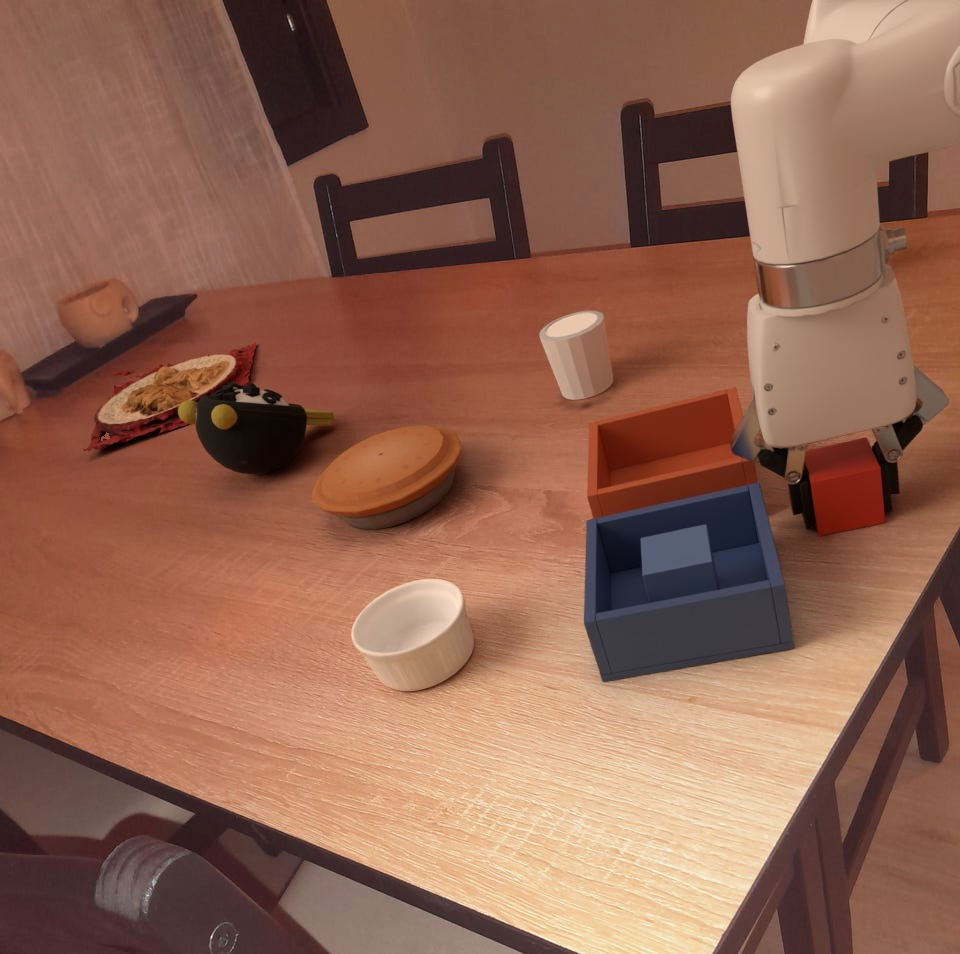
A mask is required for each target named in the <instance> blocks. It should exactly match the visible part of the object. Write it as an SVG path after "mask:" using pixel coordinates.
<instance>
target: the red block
mask: <svg viewBox="0 0 960 954" xmlns="http://www.w3.org/2000/svg"><path fill="white" fill-rule="evenodd" d="M804 465H805V468H806V472H807V475H808V478H809V481H810V485H811V492H812V499H813V507H814V514H815V522H816V526H815V529H816V532H817V535H818V536H819V537H821V536H826V535H831V534H836V533H841V532H846V531H851V530H856V529H860V528H865V527H870V526H876V525H880V524H881V525H882V524H885V523H886V513H884V502H883V490H882V478H881V468H880V465H879V463H878V461H877V459H876V457H875V454H874V452H873V450H872V445H871V443H870V441H869V439H868V437H867V436H866V437H860V438H857V439H851V440H847V441H844V442H838V443H833V444H829V445H825V446H820V447H817V448H811V449H806V455H805V461H804Z"/></svg>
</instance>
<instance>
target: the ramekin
mask: <svg viewBox="0 0 960 954" xmlns="http://www.w3.org/2000/svg"><path fill="white" fill-rule="evenodd" d="M351 627H352V628H351V631H350V637H351V642H352V644H353V646H354V648H356V650H357V651H358V653H360V654H361V655H362V656H363V658H364V659H365V662H366V663H367V664H368V666H369V667H370V669H371V670H372V672H373V674H374V675H375V677H376V678H377V679H378V680H379V682H380V683H381V684H383V685H384V686H385V687H387V688H390V689H392V690H394V691H400V692H401V691H402V692H415V691H421V690H425V689H428V688H432V687H434V686H437V685H439V684H441V683H442V682H445V681H446V680H448V679H450V678H451V677H452V676H454V675H455V674H457V672H459V671H460V670H461V669H462V668H463V666H465V664H466V663H467V662H468V660H469V659H470V657H471V655H472V653H473V651H474V647H475V637H474V633H473V630H472V627H471V622H470V619H469V615H468V613H467V610H466V599H465V595H464V593H463V591H462V589H461V588H460V587H459V586H458V585H456V583H454V582H451V581H449V580H445V579H441V578H422V579H416V580H412V581H408V582H404V583H402V584H399V585H397V586H395V587H392V588H391V589H388V590H387V591H385V592H383V593H381V594H380V595H379V596H377V597H376V598H374V599H372V601H370V602H369V603H368V604H367V605H366V606H365V607H364V608H363V609H362V610H361V611H360V612H359V614H358V615H357V616H356V618H355V620H354V622H353V625H352V626H351Z"/></svg>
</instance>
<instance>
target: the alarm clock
mask: <svg viewBox="0 0 960 954" xmlns="http://www.w3.org/2000/svg"><path fill="white" fill-rule="evenodd" d="M178 415H179V417H180V419H181V420H182V421H184V422H185V423H188V424H187V425H194V426H195V430H196V434H197V437H198V439H199V441H200V443H201V445H202V448H203V449H204V450H205V451H206V453H207V454H208V455H209V456H210V457H211V458H212V459H213V461H215V462H216V463H218V464H219V465H221V466H222V467H224V468H226V469H228V470H230V471H233V472H236V473H239V474H245V475H261V474H266V473H270V472H273V471H275V470H277V469H280V468H281V467H283V466H284V465H286V464H288V462H289V461H291V460H292V458H294V457H295V455H296V454H297V453H298V451H299V450H300V448H301V447H302V444H303V441H304V439H305V437H306V432H307V426H323V427H324V426H327V427H333V426H334V420H335V415H334V412H333V411H329V410H323V409H316V408H304V407H303V406H302V405H301V404H297V403H288V402H287V401H285V400H284V399H283V396H282V394H280V393H279V392H276V391H274V390H271V389H268V388H264V390H262V389H260V387H258V386H257V385H256V384H255V383H254V382H253V383H252V382H249V384H247V386H243V385H239V384H237V383H233V382H228V384H227V385H223V386H222V389H221V390H218V391H216V392H214V393H213V396H202V397H201V399H200V401H199V402H195V401H192V400H186V401H184V402H182V403H181V405H180V406H179V408H178Z"/></svg>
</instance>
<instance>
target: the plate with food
mask: <svg viewBox="0 0 960 954" xmlns="http://www.w3.org/2000/svg"><path fill="white" fill-rule="evenodd" d="M256 349H257V342H254V343H251V345H249V344H248V345H246V346H245V347H243V346H242V348H238V349H236V348H234V349H232V350H229V353H213V354H207V355H201V356H199V357H193V358H189V359H187V360H183V361H179V362H178V363H175V364H170V363H167V365H165V366H164V364H161V363H160V364H158V366H159V367H155V368H154V369H152V370H150V371H148V372H143V374H142V375H136V376H135V378H139V379H138V380H136V381H134V380H129V381H125V383H124V382H122V384H121V386H120V385H119V386H116V384H114V385H113V391H112V392H113V394H112V395H111V396H110V397H108V399H107V400H106V401H105V402H104V403H103V404H102V405H101V406H100V407H99V408H98V409H97V410H96V413H94V417H93V421H94V423H95V426H94V428H93V430H92V433H91V435H90V436H91V437H90V443H89V445H88V446H87V448H83V449H82V450H83V451H85V452H86V451H88V452H91V451H92V450H93V449H94V450H98V449H100V450H104V449H107V448H108V447H110V446H112V445H113V444H115V443H119V442H121V443H126V442H128V441H131V440H133V439H134V438H136V437H140V436H144V435H147V434H148V433H152V432H154V431H156V430H157V429H158V430H159V429H161V430H159V432H158V433H159V434H162V433H165V432H167V431H172V430H175V429H178V428H180V427H184V426H187V425H189V424H188V423H185V422H184V421H182V420H181V419H180V417H179V415H178V408H179V406H180V405H181V403H182V402H184V401H186V400H192V401H195V402H199V401H200V399H201V397H202V396H213V393H214V392H216V391H218V390H221V389H222V386H223V385H227V384H228V382H233V383H237V384H239V385H243V386H247V384H249V383H250V382H249V378H250V375H251V372H250V370H251V368H252V365H253V363H254V362H253V359H254V357H255V350H256ZM134 373H135V371H134V369H132V368H131V369H130V370H123V371H118V372H115V373H114V376H129V375H132V374H134ZM130 378H131V379H132V378H133V376H131V377H130ZM127 379H128V377H125V380H127ZM106 432H107V433H109V436H110V439H108V440H107V439H103V441H101V437H102V436H104V435H105V434H106ZM104 437H105V436H104Z"/></svg>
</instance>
